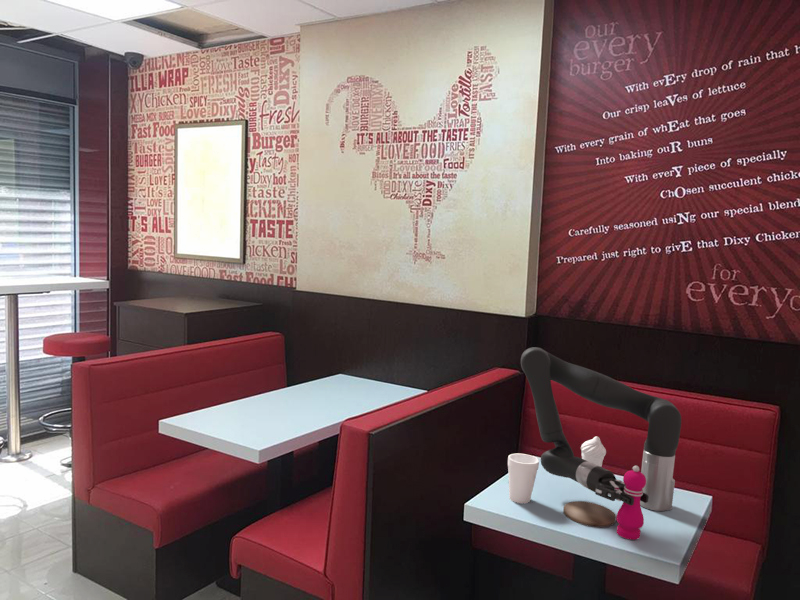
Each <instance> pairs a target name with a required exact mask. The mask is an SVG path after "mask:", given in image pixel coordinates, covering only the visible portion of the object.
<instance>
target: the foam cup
mask: <svg viewBox="0 0 800 600" xmlns="http://www.w3.org/2000/svg"><path fill="white" fill-rule="evenodd" d="M539 466H540V459H539V458H537V457H536V456H534V455H530V454H526V453H520V452H518V453H511V454H509V455H508V457H507V469H508V470H507V471H508V472H507V473H508V493H509V494H508V495H509V500H510V501H512V502H513V501H514V502H513V503H516V502H517V504H523V503H524V504H529V503H530V502H531V499H532V493H533V491H534V486H535V482H536V479H537V477H536V476H537V473H538V470H539ZM528 502H529V503H528Z"/></svg>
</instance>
